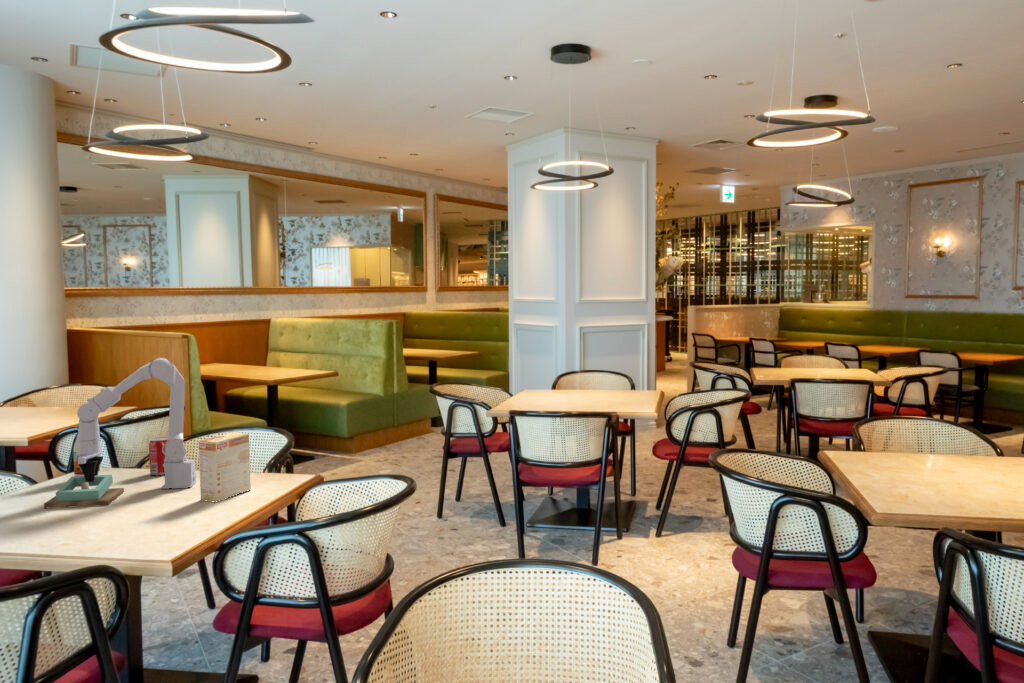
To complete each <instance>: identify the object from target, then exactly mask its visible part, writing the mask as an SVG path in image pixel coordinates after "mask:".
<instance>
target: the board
mask: <svg viewBox="0 0 1024 683" xmlns="http://www.w3.org/2000/svg"><path fill="white" fill-rule="evenodd" d="M80 488H81V489H90V486H89V483H88V482H84V483H81V486H80ZM123 492H124V493H125V488H124V487H116V488H115V487H113V488H111V487H110V488H108V489H107V491H106V492H105V493H104V494H103V495H102V497H101V498H100V499H98V500H79V501H60V502H57V499H56V495H55V496H54V497H52V498H51V499H49V500H47V501H46V502H44V503H43V507H44V508H43V509H48V508H47V507H62V508H70V507H69V506H81V507H92V506H91V505H94V506H93V507H96V506H95V505H99V506H109V505H110V504H111V503H113V502H115V500H117V497H118V496H119V497H120V496H121V495H123V494H124V493H123ZM112 501H113V502H112ZM108 504H109V505H108Z"/></svg>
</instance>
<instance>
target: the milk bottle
mask: <svg viewBox="0 0 1024 683" xmlns="http://www.w3.org/2000/svg"><path fill="white" fill-rule="evenodd" d="M76 426H77V432H78V434H77V437H76V440H75V443H74V445H73V473H74V475H73V476H84V474H83V471H82V469H81V468H80V466H79V465H78V458H79V456H76V454H77V453H80V444H79V423H78V424H77V425H76ZM99 456H100V455H99ZM99 456H97V457H99ZM98 475H101V467H100V466H99V470H98Z"/></svg>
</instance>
